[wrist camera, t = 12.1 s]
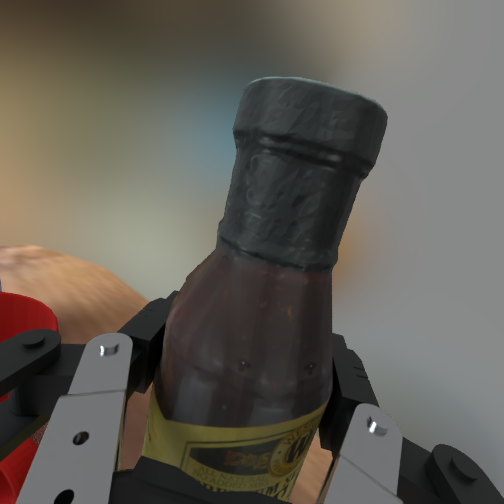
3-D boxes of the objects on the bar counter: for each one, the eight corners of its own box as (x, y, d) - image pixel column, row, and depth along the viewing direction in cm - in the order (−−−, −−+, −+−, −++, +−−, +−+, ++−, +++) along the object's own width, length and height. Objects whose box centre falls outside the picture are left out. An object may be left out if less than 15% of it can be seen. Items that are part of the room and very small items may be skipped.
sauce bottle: (143, 723, 8) (301, -49, 2) (114, 511, 13) (143, 66, 7) (286, 572, 12) (483, 131, 6) (224, 450, 17) (304, 129, 11)
